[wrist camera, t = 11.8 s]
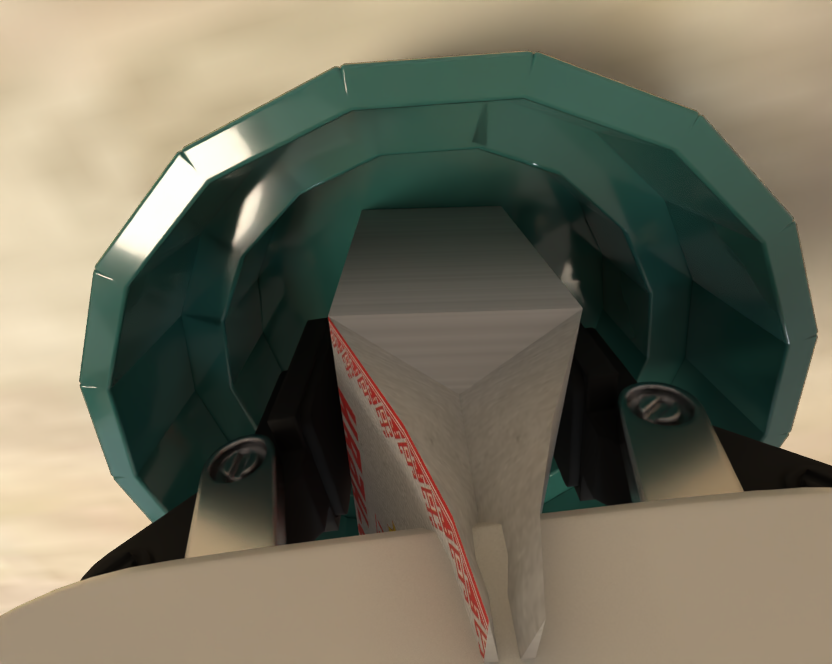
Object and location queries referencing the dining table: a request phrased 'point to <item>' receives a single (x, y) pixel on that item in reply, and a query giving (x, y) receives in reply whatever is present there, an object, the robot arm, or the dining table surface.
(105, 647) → the robot arm
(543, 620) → the white juice carton
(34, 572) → the dining table surface
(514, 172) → the teal faceted bowl
